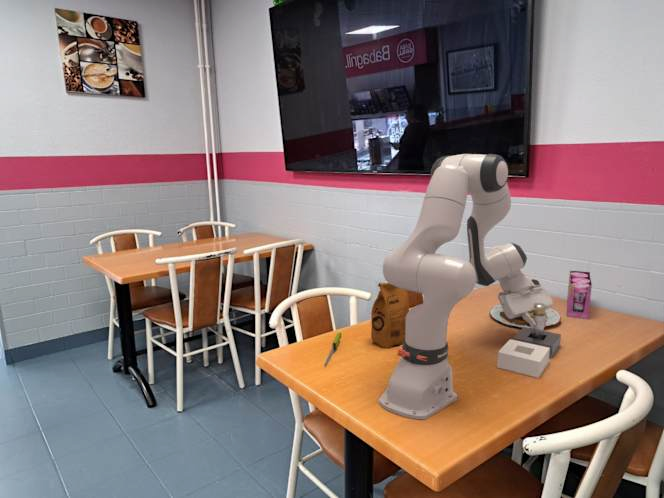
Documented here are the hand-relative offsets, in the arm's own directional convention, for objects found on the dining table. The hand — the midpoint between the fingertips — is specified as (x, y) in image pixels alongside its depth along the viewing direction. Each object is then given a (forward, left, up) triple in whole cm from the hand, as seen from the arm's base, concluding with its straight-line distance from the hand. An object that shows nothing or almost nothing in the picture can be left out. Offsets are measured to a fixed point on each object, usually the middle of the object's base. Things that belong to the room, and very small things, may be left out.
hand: (540, 324), depth 154 cm
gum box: (+49, -3, -9) cm, 50 cm away
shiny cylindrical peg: (0, +1, -8) cm, 8 cm away
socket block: (0, +1, -8) cm, 8 cm away
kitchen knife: (-43, +54, -9) cm, 69 cm away
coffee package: (-23, +44, -9) cm, 50 cm away
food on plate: (+26, +11, -9) cm, 30 cm away
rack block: (-16, +1, -8) cm, 18 cm away
